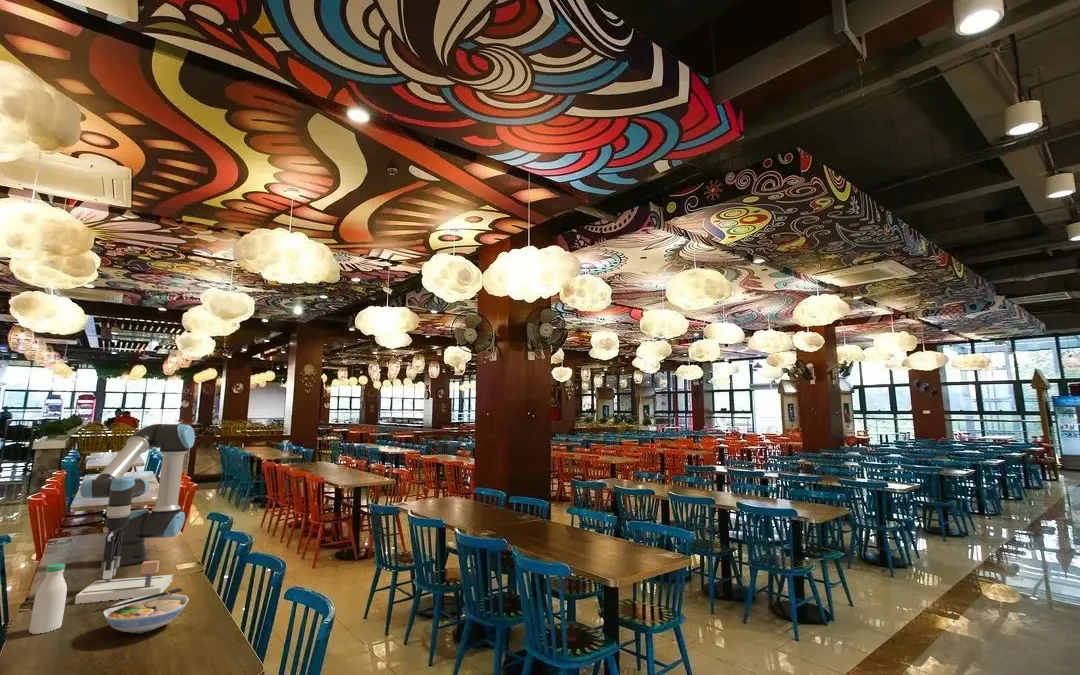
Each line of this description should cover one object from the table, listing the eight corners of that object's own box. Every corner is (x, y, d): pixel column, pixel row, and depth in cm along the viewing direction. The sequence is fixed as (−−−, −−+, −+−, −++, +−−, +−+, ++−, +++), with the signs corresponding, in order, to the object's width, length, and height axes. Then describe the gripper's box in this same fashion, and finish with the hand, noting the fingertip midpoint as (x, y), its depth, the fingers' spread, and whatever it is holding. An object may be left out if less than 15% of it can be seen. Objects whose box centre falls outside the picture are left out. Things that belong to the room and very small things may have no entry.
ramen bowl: (111, 652, 151) (116, 622, 152) (83, 633, 163) (87, 606, 164) (202, 625, 172) (205, 599, 173) (171, 610, 184) (174, 586, 185)
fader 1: (101, 580, 204) (105, 557, 206) (117, 579, 206) (120, 555, 207) (98, 582, 201) (102, 558, 203) (114, 581, 203) (118, 557, 205)
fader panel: (94, 588, 204) (95, 580, 204) (171, 582, 214) (172, 574, 215) (74, 604, 188) (76, 595, 188) (159, 596, 198) (160, 587, 198)
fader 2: (141, 585, 199) (144, 561, 201) (156, 584, 201) (159, 560, 203) (138, 587, 197) (142, 563, 198) (154, 586, 199) (157, 562, 200)
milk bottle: (67, 627, 168) (77, 563, 171) (37, 636, 160) (49, 569, 164) (52, 623, 170) (62, 560, 173) (22, 632, 163) (34, 566, 166)
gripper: (113, 513, 214) (104, 572, 210) (98, 520, 199) (88, 584, 195) (135, 512, 216) (127, 570, 213) (122, 519, 202) (112, 582, 198)
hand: (108, 577), depth 204 cm, fingers closed on fader 1, 3 cm apart
